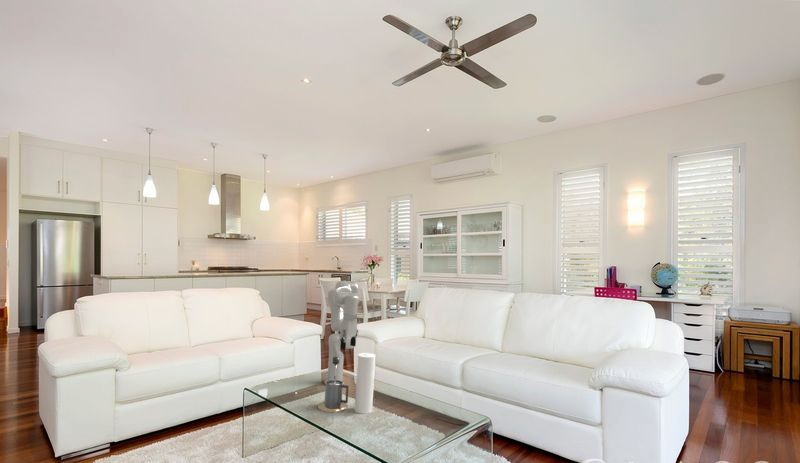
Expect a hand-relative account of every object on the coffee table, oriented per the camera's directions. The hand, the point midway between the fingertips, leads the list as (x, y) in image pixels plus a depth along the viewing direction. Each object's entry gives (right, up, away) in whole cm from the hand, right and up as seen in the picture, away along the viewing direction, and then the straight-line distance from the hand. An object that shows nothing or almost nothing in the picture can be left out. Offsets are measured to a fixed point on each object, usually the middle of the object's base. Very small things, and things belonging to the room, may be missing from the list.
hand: (347, 347), depth 236 cm
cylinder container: (+9, -32, -9) cm, 34 cm away
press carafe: (-7, -31, -7) cm, 32 cm away
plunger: (-7, -19, -6) cm, 21 cm away
